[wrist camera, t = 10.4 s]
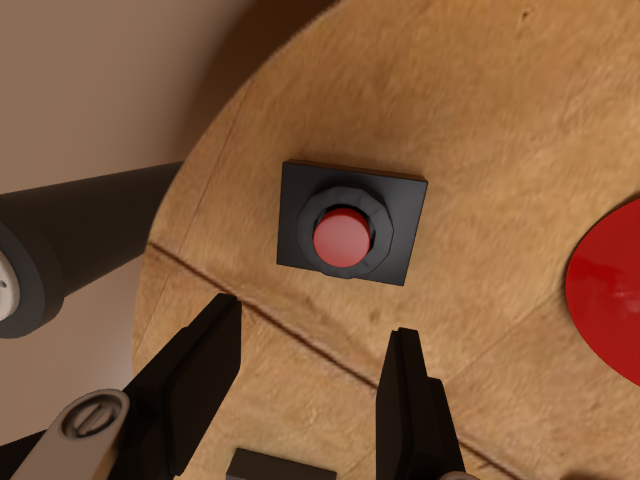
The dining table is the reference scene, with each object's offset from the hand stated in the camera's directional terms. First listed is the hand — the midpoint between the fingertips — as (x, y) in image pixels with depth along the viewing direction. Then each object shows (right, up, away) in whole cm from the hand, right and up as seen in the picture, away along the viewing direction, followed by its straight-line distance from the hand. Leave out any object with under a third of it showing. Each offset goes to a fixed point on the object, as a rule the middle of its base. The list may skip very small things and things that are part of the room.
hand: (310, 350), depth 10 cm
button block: (+3, +5, +14) cm, 15 cm away
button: (+2, +4, +11) cm, 12 cm away
